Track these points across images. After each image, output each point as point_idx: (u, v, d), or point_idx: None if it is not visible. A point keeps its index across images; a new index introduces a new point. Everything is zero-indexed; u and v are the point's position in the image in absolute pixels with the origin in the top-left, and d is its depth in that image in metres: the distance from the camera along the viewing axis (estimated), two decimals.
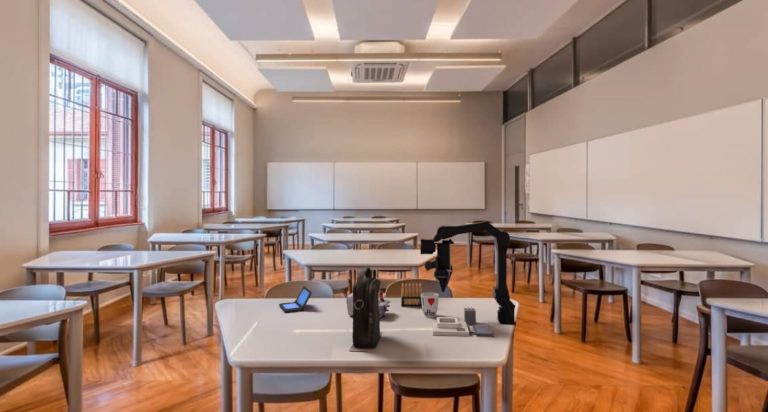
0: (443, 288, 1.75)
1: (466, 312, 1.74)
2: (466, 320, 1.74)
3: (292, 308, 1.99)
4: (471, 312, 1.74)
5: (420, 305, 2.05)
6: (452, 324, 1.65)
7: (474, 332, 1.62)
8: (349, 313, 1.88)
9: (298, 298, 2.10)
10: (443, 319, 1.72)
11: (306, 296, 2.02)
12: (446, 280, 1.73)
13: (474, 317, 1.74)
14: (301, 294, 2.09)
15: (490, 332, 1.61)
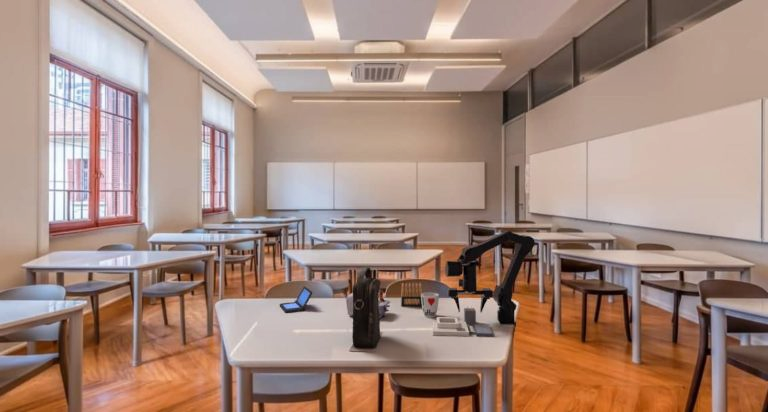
0: None
1: (466, 312, 1.74)
2: (466, 320, 1.74)
3: (293, 308, 1.99)
4: (471, 312, 1.74)
5: (420, 305, 2.05)
6: (452, 324, 1.65)
7: (474, 332, 1.62)
8: (349, 313, 1.87)
9: (298, 298, 2.10)
10: (443, 319, 1.72)
11: (307, 296, 2.02)
12: (455, 300, 1.75)
13: (474, 317, 1.74)
14: (301, 294, 2.10)
15: (490, 332, 1.61)
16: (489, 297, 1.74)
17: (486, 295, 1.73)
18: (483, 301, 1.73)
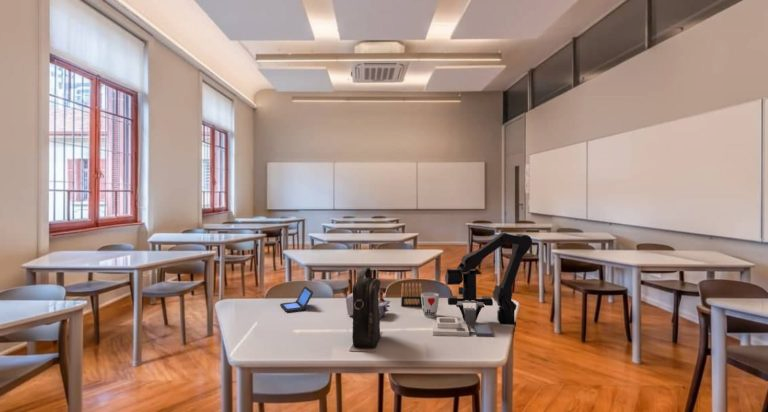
0: None
1: (466, 312, 1.74)
2: (466, 320, 1.74)
3: (293, 308, 1.99)
4: (471, 312, 1.74)
5: (420, 305, 2.05)
6: (452, 324, 1.65)
7: (474, 332, 1.62)
8: (349, 313, 1.88)
9: (299, 298, 2.10)
10: (443, 319, 1.72)
11: (307, 296, 2.02)
12: (460, 309, 1.75)
13: (474, 317, 1.74)
14: (302, 294, 2.10)
15: (490, 332, 1.61)
16: None
17: (486, 303, 1.73)
18: (478, 309, 1.74)
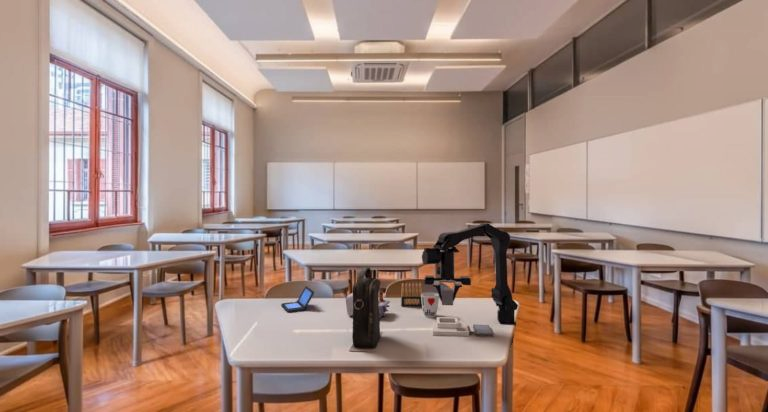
0: None
1: (443, 292, 1.67)
2: (443, 300, 1.67)
3: (294, 308, 1.99)
4: (448, 292, 1.67)
5: (420, 305, 2.05)
6: (452, 324, 1.65)
7: (474, 332, 1.62)
8: (348, 313, 1.87)
9: (300, 298, 2.10)
10: (443, 319, 1.72)
11: (308, 296, 2.03)
12: (437, 289, 1.68)
13: (451, 297, 1.67)
14: (303, 294, 2.10)
15: (490, 332, 1.61)
16: (461, 285, 1.67)
17: (464, 283, 1.65)
18: (455, 289, 1.66)
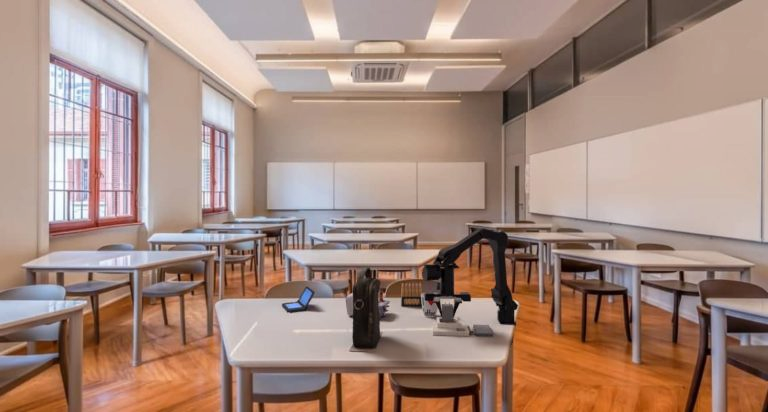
0: None
1: (443, 308, 1.67)
2: (443, 316, 1.67)
3: (295, 308, 1.99)
4: (448, 308, 1.67)
5: (420, 305, 2.05)
6: (452, 324, 1.65)
7: (474, 332, 1.62)
8: (348, 313, 1.87)
9: (301, 298, 2.11)
10: None
11: (309, 296, 2.03)
12: (437, 305, 1.68)
13: (452, 313, 1.67)
14: (304, 294, 2.10)
15: (490, 332, 1.61)
16: None
17: (464, 299, 1.65)
18: (455, 305, 1.66)
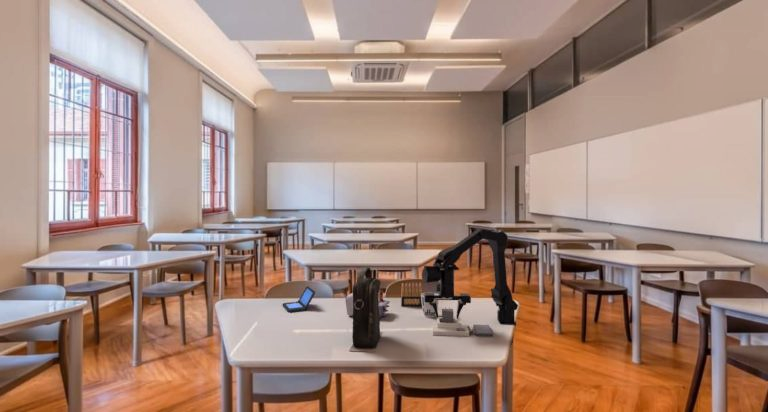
0: (436, 314, 1.69)
1: (443, 313, 1.67)
2: (443, 321, 1.67)
3: (295, 308, 2.00)
4: (449, 313, 1.67)
5: (420, 305, 2.05)
6: (452, 324, 1.65)
7: (474, 332, 1.62)
8: (348, 313, 1.88)
9: (301, 298, 2.11)
10: None
11: (309, 296, 2.03)
12: None
13: (452, 318, 1.67)
14: (304, 294, 2.10)
15: (490, 332, 1.61)
16: (465, 303, 1.66)
17: (464, 301, 1.65)
18: (459, 307, 1.66)
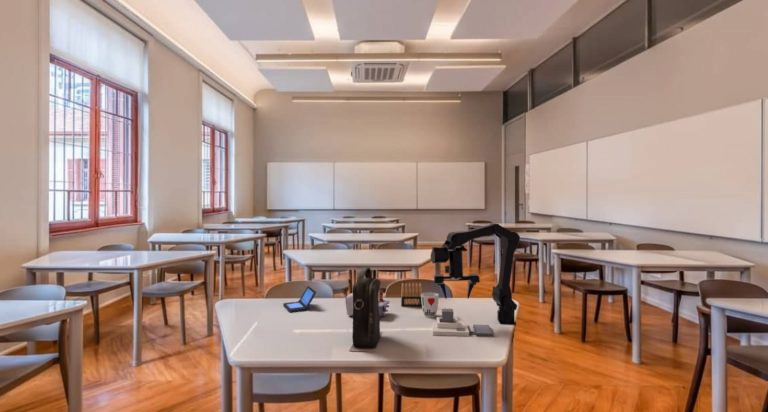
0: (444, 295, 1.73)
1: (443, 313, 1.67)
2: (443, 321, 1.67)
3: (296, 307, 2.00)
4: (449, 313, 1.67)
5: (420, 305, 2.05)
6: (452, 324, 1.65)
7: (474, 332, 1.62)
8: (348, 313, 1.88)
9: (302, 298, 2.11)
10: None
11: (310, 296, 2.03)
12: None
13: (452, 318, 1.67)
14: (305, 294, 2.10)
15: (490, 332, 1.61)
16: None
17: (473, 280, 1.69)
18: (470, 287, 1.70)
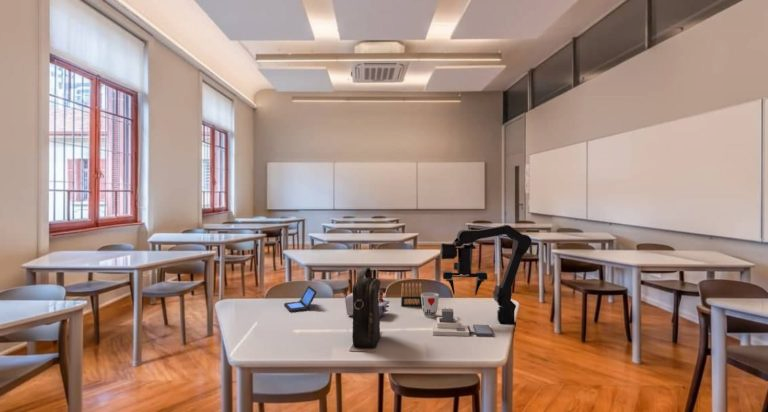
0: None
1: (443, 313, 1.67)
2: (443, 321, 1.67)
3: (297, 307, 2.00)
4: (449, 313, 1.67)
5: (420, 305, 2.05)
6: (452, 324, 1.65)
7: (474, 332, 1.62)
8: (348, 313, 1.88)
9: (303, 297, 2.11)
10: None
11: (311, 296, 2.03)
12: (450, 283, 1.76)
13: (452, 318, 1.67)
14: (306, 294, 2.11)
15: (490, 332, 1.61)
16: None
17: (481, 277, 1.74)
18: (478, 283, 1.74)
